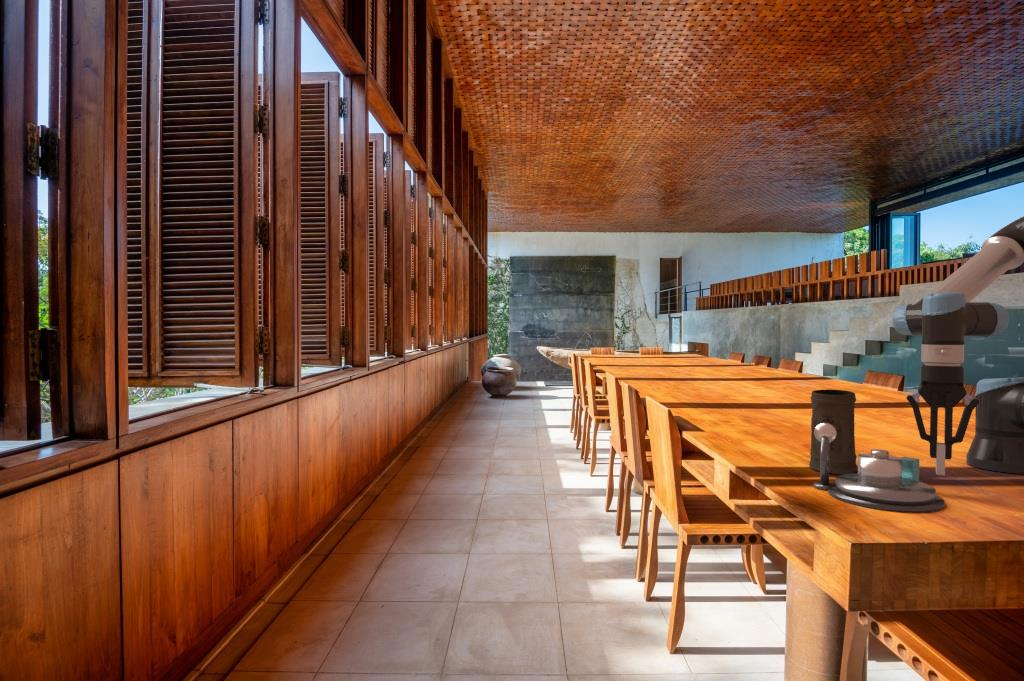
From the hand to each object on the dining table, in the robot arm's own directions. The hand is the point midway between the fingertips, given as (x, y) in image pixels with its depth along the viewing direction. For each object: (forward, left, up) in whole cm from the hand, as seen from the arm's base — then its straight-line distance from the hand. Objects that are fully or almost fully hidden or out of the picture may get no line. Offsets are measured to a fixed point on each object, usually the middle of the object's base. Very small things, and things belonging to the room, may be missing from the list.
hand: (940, 473), depth 130 cm
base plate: (+14, +3, -4) cm, 15 cm away
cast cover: (+14, +3, -2) cm, 15 cm away
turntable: (+12, +2, -4) cm, 13 cm away
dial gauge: (+23, -4, -4) cm, 23 cm away
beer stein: (+12, -23, -5) cm, 26 cm away
